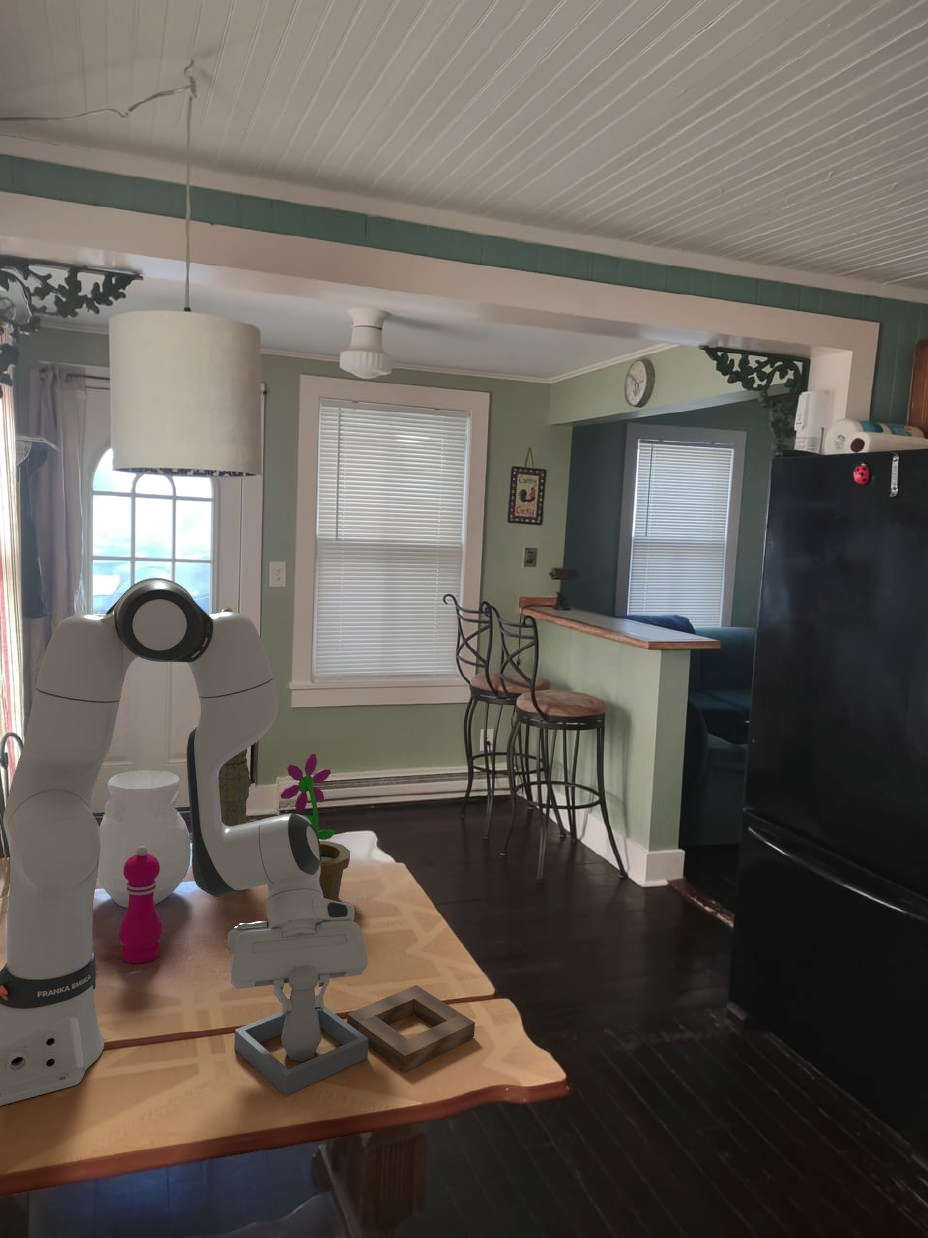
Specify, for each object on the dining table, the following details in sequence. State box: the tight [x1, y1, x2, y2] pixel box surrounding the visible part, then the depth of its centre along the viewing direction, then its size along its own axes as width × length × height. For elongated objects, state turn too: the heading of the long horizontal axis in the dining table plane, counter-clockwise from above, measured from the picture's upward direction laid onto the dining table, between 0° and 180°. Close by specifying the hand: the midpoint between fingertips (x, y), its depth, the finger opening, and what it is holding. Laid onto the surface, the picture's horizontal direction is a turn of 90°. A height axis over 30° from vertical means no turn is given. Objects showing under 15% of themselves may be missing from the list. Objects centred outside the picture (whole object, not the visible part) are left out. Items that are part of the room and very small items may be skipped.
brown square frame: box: [346, 984, 476, 1073], centre depth 138 cm, size 14×14×2 cm
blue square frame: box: [233, 1005, 369, 1097], centre depth 132 cm, size 14×14×3 cm
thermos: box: [218, 742, 258, 826], centre depth 192 cm, size 9×12×35 cm
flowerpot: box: [280, 753, 351, 902], centre depth 182 cm, size 14×14×30 cm
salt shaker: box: [280, 965, 322, 1063], centre depth 131 cm, size 6×6×13 cm
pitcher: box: [97, 769, 192, 909], centre depth 179 cm, size 19×18×25 cm
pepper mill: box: [118, 846, 163, 965], centre depth 157 cm, size 7×7×20 cm
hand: (303, 1011), depth 130 cm, fingers closed on salt shaker, 3 cm apart
